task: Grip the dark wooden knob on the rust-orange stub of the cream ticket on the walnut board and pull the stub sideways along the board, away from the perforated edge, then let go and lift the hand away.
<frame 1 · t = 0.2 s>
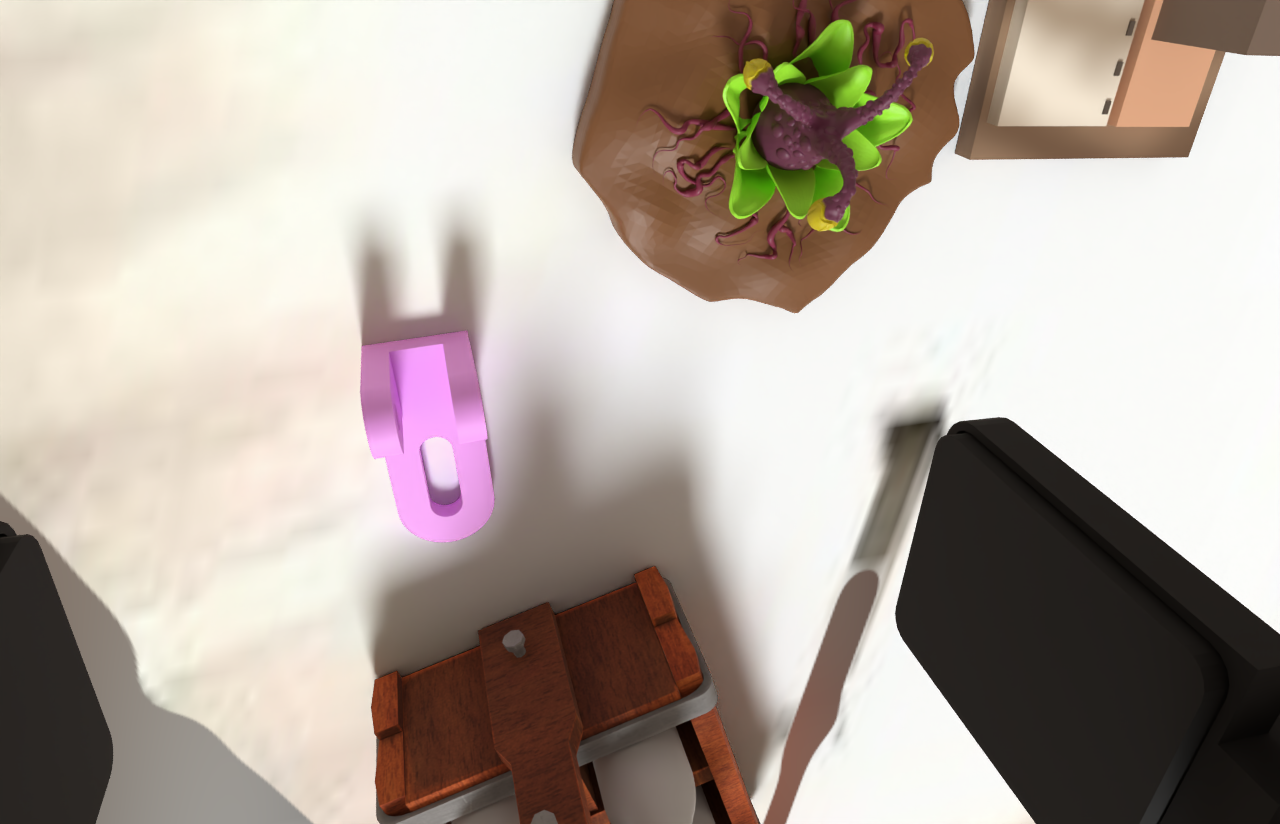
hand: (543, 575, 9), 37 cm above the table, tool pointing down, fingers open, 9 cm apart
bracket: (434, 436, 50), on the table
milk bottle holder: (584, 747, 66), on the table
plant: (760, 115, 46), on the table
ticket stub: (1231, 14, 43), point 5 cm above the table, slide at 0.0 cm
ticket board: (1108, 3, 47), on the table
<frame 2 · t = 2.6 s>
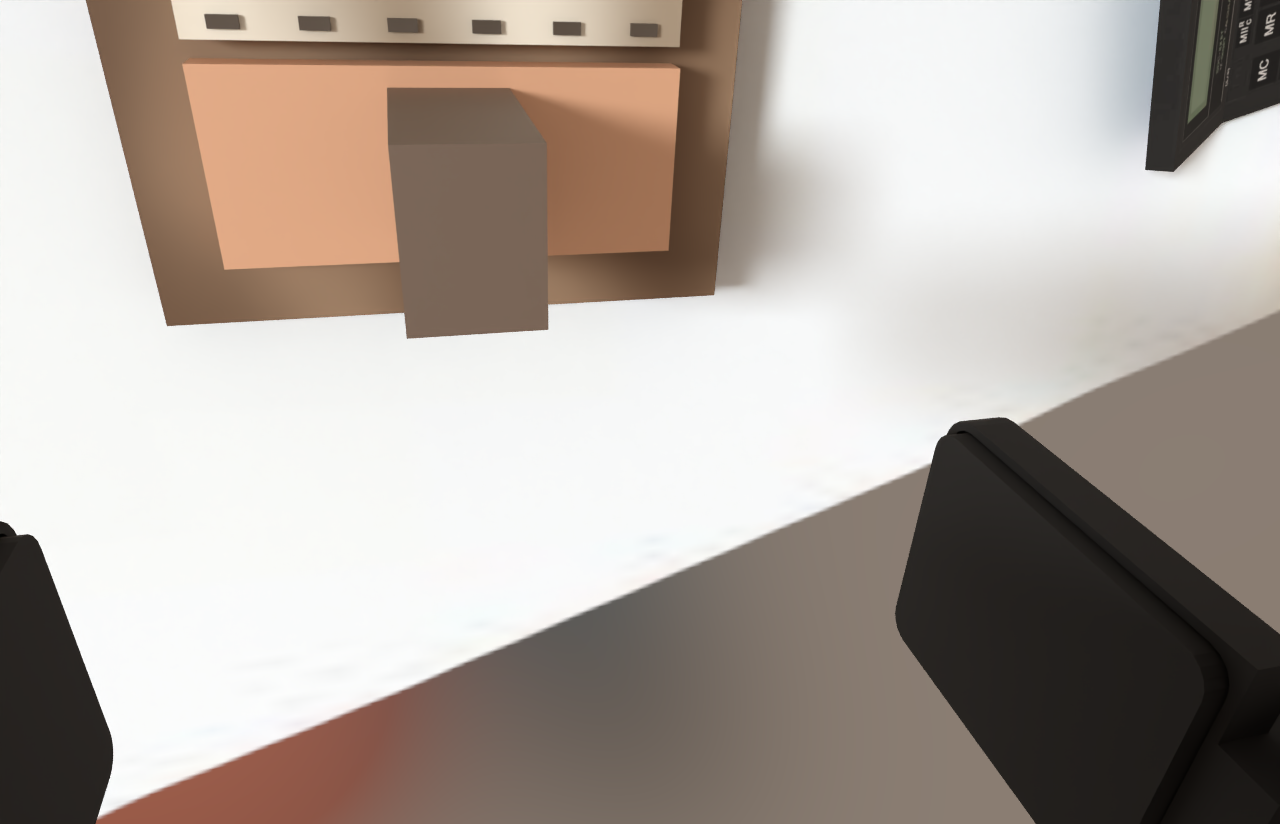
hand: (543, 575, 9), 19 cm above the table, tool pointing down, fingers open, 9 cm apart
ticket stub: (461, 196, 20), point 5 cm above the table, slide at 0.0 cm
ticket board: (440, 30, 23), on the table
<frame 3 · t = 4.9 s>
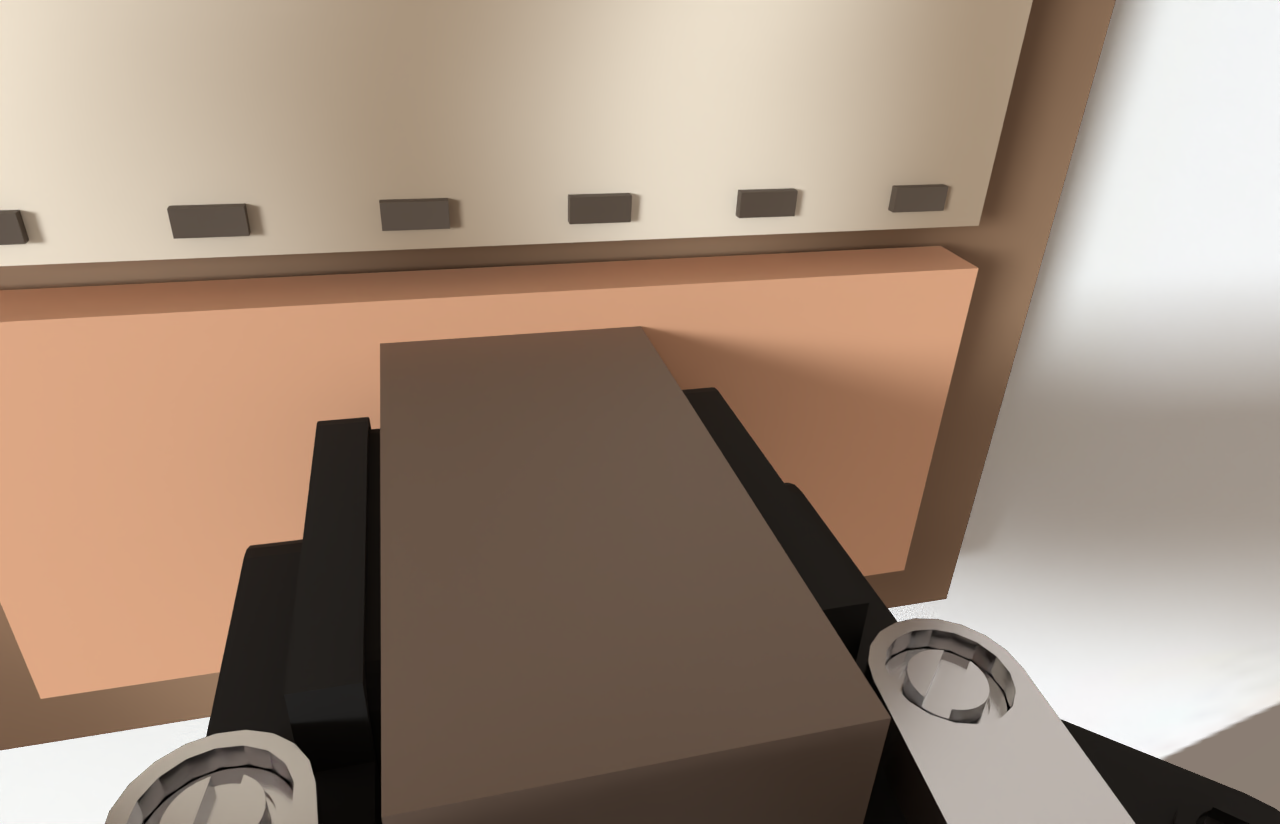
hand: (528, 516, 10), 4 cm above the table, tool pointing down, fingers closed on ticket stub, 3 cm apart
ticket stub: (553, 616, 9), point 5 cm above the table, slide at 0.0 cm, touching gripper
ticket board: (486, 186, 12), on the table
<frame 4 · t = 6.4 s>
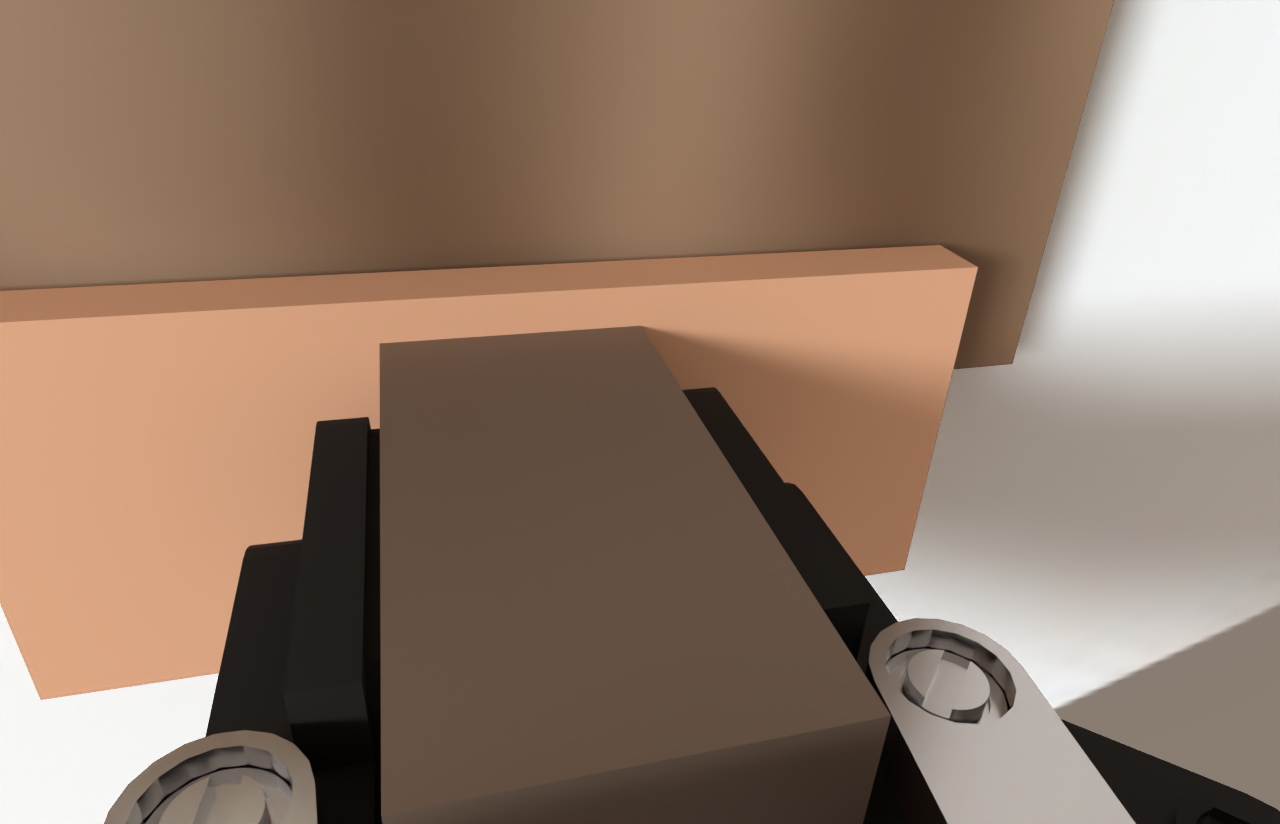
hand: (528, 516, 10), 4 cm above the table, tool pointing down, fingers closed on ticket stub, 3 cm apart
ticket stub: (553, 615, 9), point 5 cm above the table, slide at 4.9 cm, touching gripper
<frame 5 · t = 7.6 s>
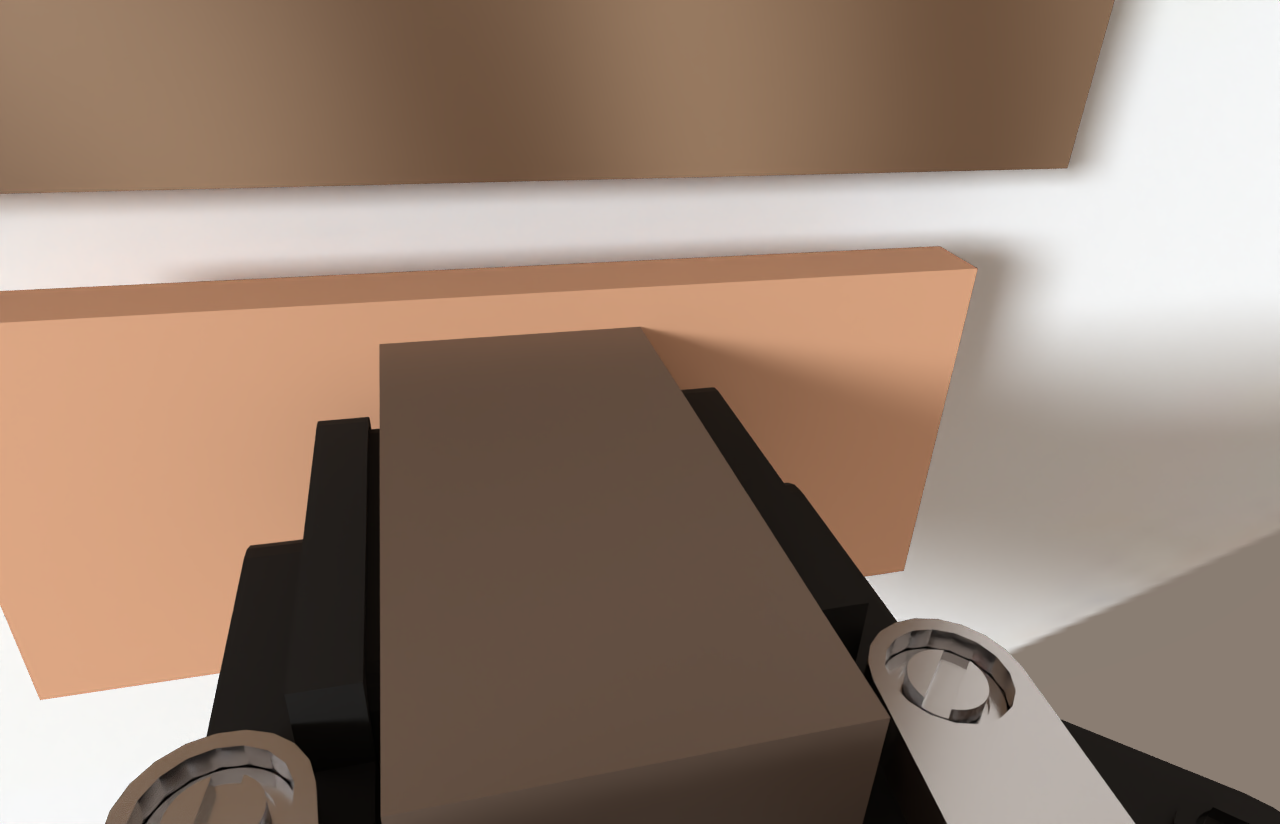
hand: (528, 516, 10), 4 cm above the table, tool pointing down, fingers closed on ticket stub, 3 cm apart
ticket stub: (553, 616, 9), point 5 cm above the table, slide at 8.0 cm, touching gripper
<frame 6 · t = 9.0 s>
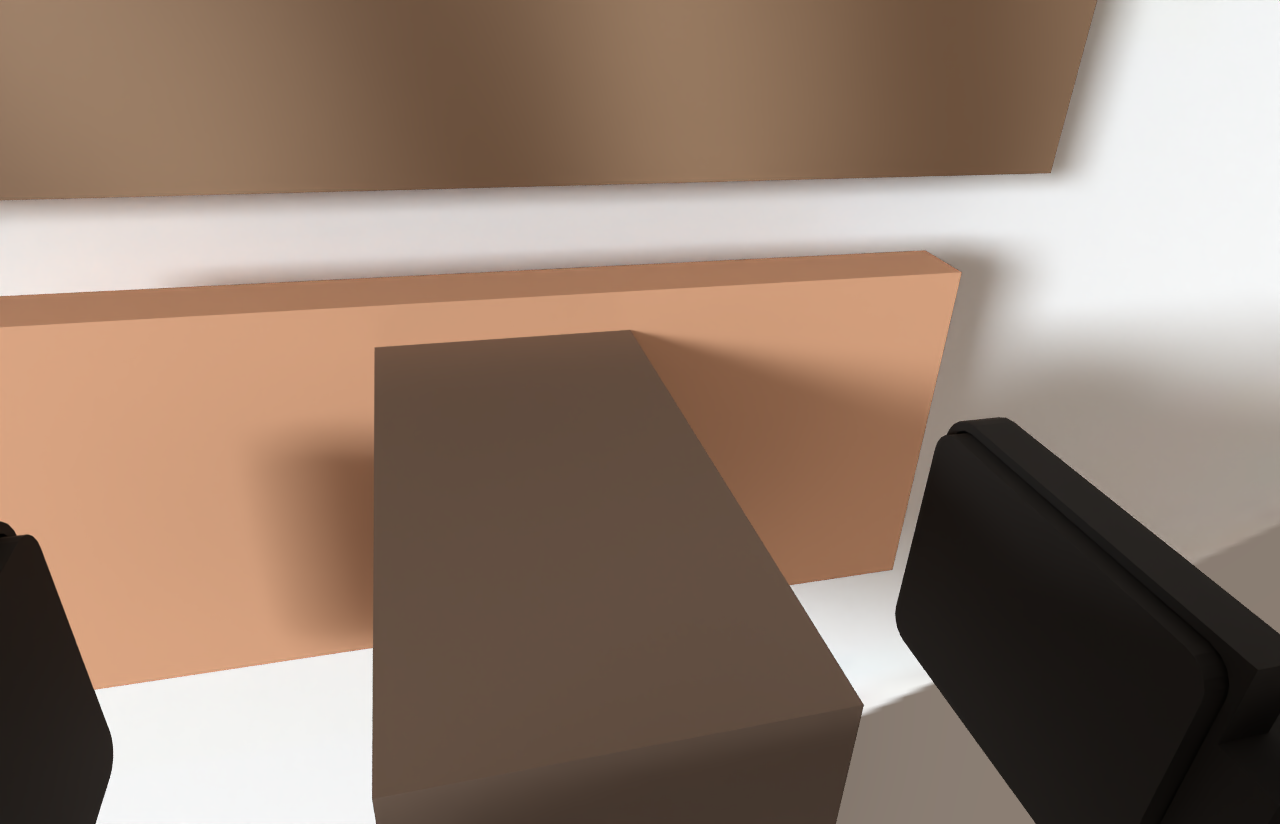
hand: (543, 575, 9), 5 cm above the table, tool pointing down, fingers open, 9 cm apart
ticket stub: (544, 613, 9), point 5 cm above the table, slide at 8.0 cm
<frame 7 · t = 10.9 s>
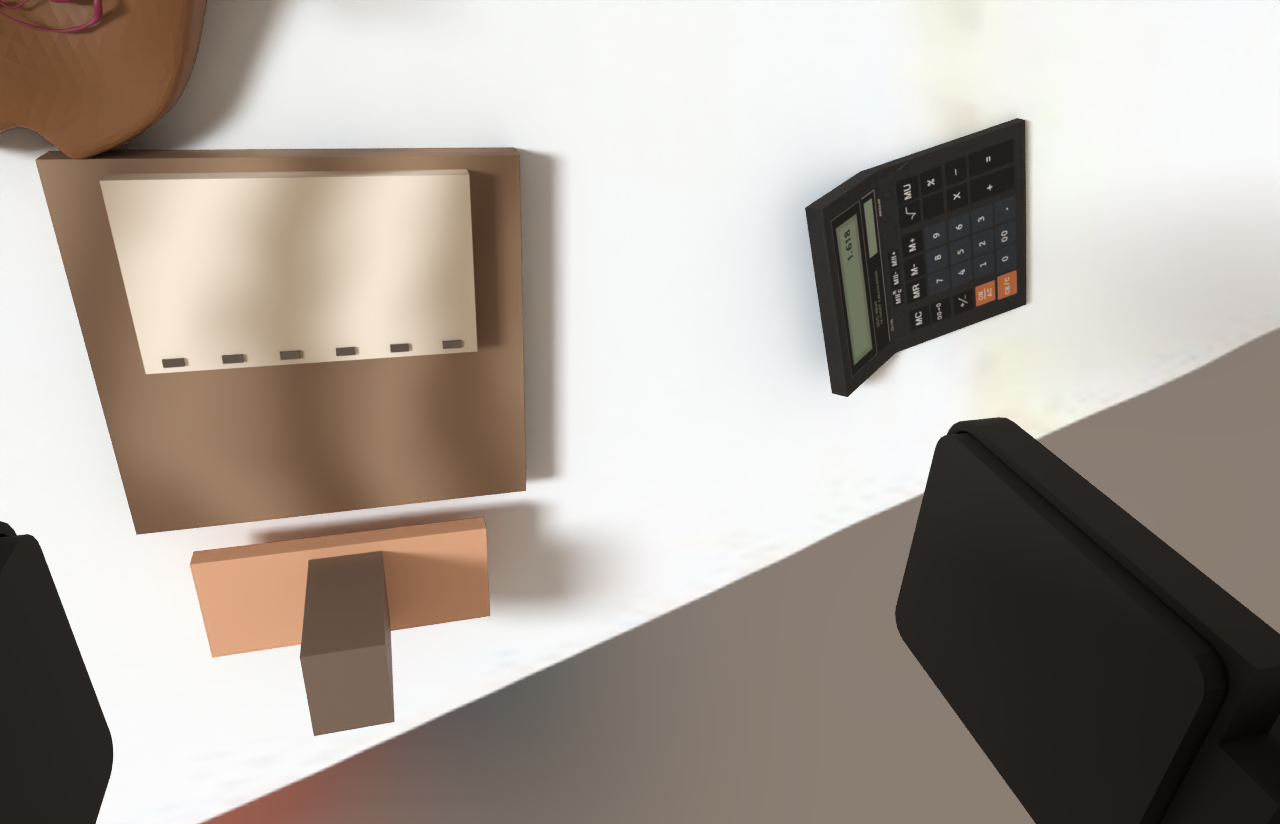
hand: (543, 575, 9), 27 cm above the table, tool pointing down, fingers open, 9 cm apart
calculator: (905, 249, 42), on the table
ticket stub: (350, 630, 36), point 5 cm above the table, slide at 8.0 cm
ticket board: (322, 337, 35), on the table
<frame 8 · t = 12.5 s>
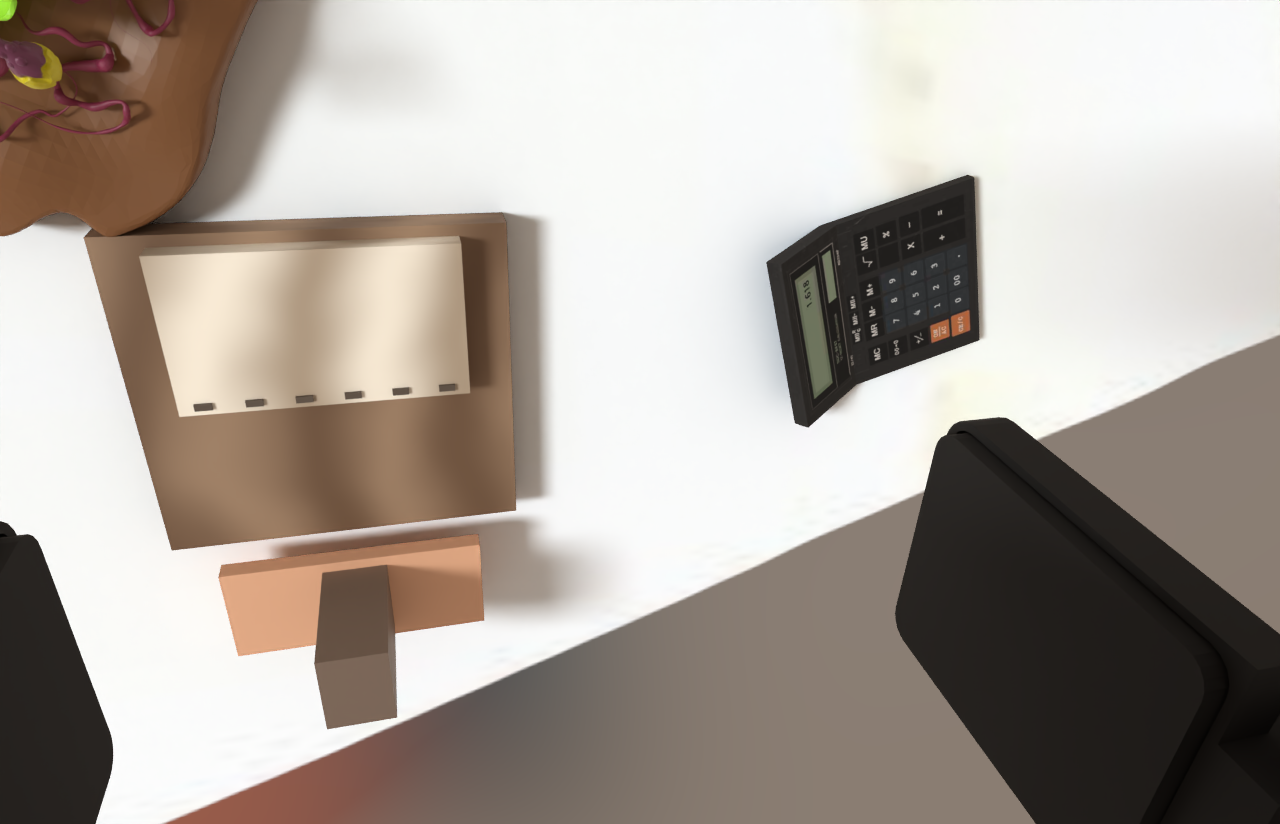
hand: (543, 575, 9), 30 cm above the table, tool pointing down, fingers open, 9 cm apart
calculator: (865, 291, 45), on the table
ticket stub: (358, 636, 41), point 5 cm above the table, slide at 8.0 cm
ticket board: (333, 378, 40), on the table
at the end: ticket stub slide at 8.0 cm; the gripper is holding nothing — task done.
